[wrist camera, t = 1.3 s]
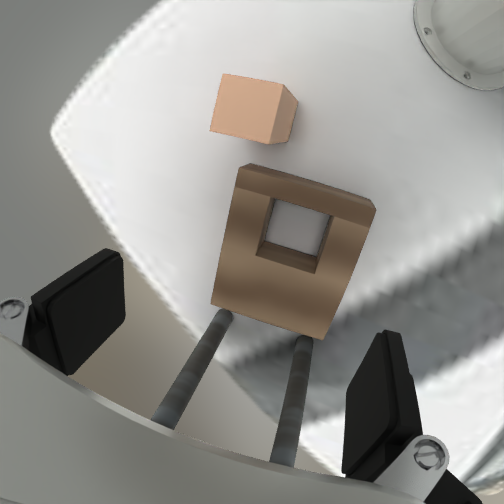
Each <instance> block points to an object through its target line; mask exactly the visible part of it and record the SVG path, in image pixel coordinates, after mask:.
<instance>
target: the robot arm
mask: <svg viewBox="0 0 504 504" xmlns="http://www.w3.org/2000/svg"><path fill="white" fill-rule="evenodd" d="M414 21H415V25H416V28H417V32H418V34H419V36H420V39H421V41H422V43H423V45H424V46H425V48H426V49H427V51H428V53H429V54H430V55H431V57H432V58H433V59H434V60H435V62H436V63H437V64H438V65H439V66H440V67H441V68H442V69H443V70H444V71H445V72H446V73H448V74H449V75H450V76H452V77H453V78H454V79H456V80H457V81H459V82H461V83H463V84H464V85H467V86H469V87H472V88H474V89H480V90H495V89H500V88H502V87H504V0H416V2H415V7H414ZM425 32H426V33H427V34H428V35H427V34H425ZM464 75H465V77H466V78H465V77H464ZM31 300H32V304H31V305H30V306H29V304H28V303H27V301H26V300H25V299H23V298H20V297H9V298H6V299H4V300H2V301H0V504H482V501H481V500H480V499H479V498H478V497H477V496H476V495H475V494H474V493H473V492H471V491H470V490H469V489H468V488H467V487H466V486H465V485H464V484H463V483H461V482H460V481H459V480H458V479H457V478H456V477H455V476H454V475H453V474H452V473H450V472H449V471H448V470H447V466H448V464H449V453H448V450H447V448H446V446H445V444H444V443H443V442H442V441H441V440H439V439H438V438H436V437H434V436H430V435H423V431H422V425H421V418H420V412H419V407H418V401H417V396H416V390H415V385H414V380H413V377H412V375H411V374H410V373H409V368H408V363H407V359H406V354H405V350H404V346H403V342H402V337H401V334H400V333H397V332H393V331H389V330H384V331H383V332H382V333H377V334H376V336H375V338H374V340H373V342H372V344H371V346H370V348H369V350H368V351H367V353H366V355H365V357H364V359H363V361H362V363H361V365H360V366H359V368H358V370H357V372H356V374H355V375H354V377H353V379H352V381H351V382H350V384H349V386H348V389H347V392H346V411H345V431H344V446H343V458H342V473H343V474H346V477H345V478H344V477H339V476H333V475H327V474H321V473H316V472H311V471H306V470H301V469H296V468H293V467H288V466H284V465H280V464H276V463H271V462H268V461H264V460H260V459H256V458H253V457H249V456H245V455H242V454H239V453H236V452H232V451H229V450H226V449H223V448H220V447H217V446H214V445H211V444H208V443H206V442H203V441H200V440H197V439H195V438H192V437H189V436H187V435H184V434H182V433H179V432H176V431H174V430H172V429H169V428H167V427H165V426H162V425H160V424H158V423H155V422H153V421H151V420H149V419H146V418H144V417H142V416H140V415H138V414H135V413H134V412H132V411H129V410H127V409H125V408H123V407H121V406H120V405H118V404H115V403H114V402H112V401H110V400H108V399H106V398H104V397H102V396H101V395H98V394H97V393H95V392H93V391H92V390H90V389H88V388H86V387H85V386H83V385H81V384H79V383H78V382H76V381H74V380H73V379H71V378H69V377H68V375H72V374H74V373H75V372H76V371H77V370H78V368H79V367H80V366H81V365H82V364H83V363H84V362H85V361H86V360H87V359H88V358H89V357H90V356H91V355H92V354H93V353H94V352H95V351H96V350H97V349H98V348H99V347H100V346H101V345H102V344H103V343H104V341H106V340H107V338H108V337H109V336H110V335H111V334H112V333H113V332H114V331H115V330H116V329H117V328H118V327H119V326H120V325H121V324H122V323H123V322H124V320H125V315H126V314H125V297H124V271H123V259H122V257H121V256H120V253H119V252H116V251H113V250H110V249H107V248H105V249H103V250H101V251H100V252H98V253H97V254H95V255H93V256H91V257H90V258H88V259H87V260H85V261H84V262H82V263H80V264H79V265H77V266H76V267H74V268H73V269H71V270H70V271H68V272H66V273H65V274H64V275H62V276H60V277H59V278H57V279H56V280H54V281H53V282H51V283H50V284H48V285H47V286H46V287H44V288H43V289H41V290H40V291H38V292H37V293H35V294H34V295H33V296H31Z"/></svg>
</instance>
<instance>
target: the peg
mask: <svg viewBox="0 0 504 504" xmlns="http://www.w3.org/2000/svg"><path fill="white" fill-rule="evenodd" d="M297 104H298V101H297V100H296V98H295V97H294V96H293V95H292V94H291V93H290V91H289V90H288V89H287V88H286V87H285V86H284V85H283V84H279V83H274V82H269V81H264V80H259V79H253V78H248V77H242V76H236V75H229V74H223V75H222V79H221V83H220V87H219V91H218V95H217V100H216V104H215V108H214V113H213V117H212V122H211V126H210V131H212V132H216V133H221V134H226V135H230V136H235V137H239V138H244V139H248V140H252V141H256V142H260V143H264V144H268V145H269V144H275V143H281V142H288V139H289V136H290V132H291V128H292V124H293V120H294V116H295V112H296V108H297Z"/></svg>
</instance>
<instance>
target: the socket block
mask: <svg viewBox="0 0 504 504" xmlns="http://www.w3.org/2000/svg"><path fill="white" fill-rule="evenodd" d="M275 198H276V199H279V200H283V201H286V202H290V203H293V204H296V205H299V206H303V207H306V208H309V209H312V210H316V211H319V212H322V213H325V214H328V215H331V216H330V219H329V222H328V225H327V228H326V231H325V234H324V237H323V240H322V243H321V246H320V249H319V252H318V255H317V257H314V256H310V255H307V254H304V253H301V252H298V251H295V250H291V249H288V248H285V247H282V246H279V245H275V244H272V243H269V242H266V241H264V239H265V236H266V232H267V228H268V224H269V220H270V217H271V213H272V209H273V205H274V201H275ZM375 212H376V208H375V207H374V205H373V203H372V202H371V200H369V199H367V198H364V197H361V196H358V195H355V194H352V193H349V192H346V191H343V190H340V189H337V188H334V187H330V186H327V185H324V184H321V183H318V182H314V181H311V180H308V179H304V178H301V177H298V176H294V175H291V174H287V173H284V172H280V171H277V170H273V169H269V168H266V167H262V166H258V165H254V164H251V163H250V164H247V165H245V166H242V167H240V168H239V170H238V174H237V179H236V183H235V188H234V192H233V197H232V201H231V206H230V210H229V215H228V220H227V225H226V229H225V234H224V239H223V244H222V248H221V253H220V258H219V263H218V268H217V273H216V278H215V283H214V288H213V293H212V299H211V304H212V305H215V306H218V307H221V308H223V309H222V310H219V311H218V312H217V314H216V315H215V317H214V319H213V320H212V322H211V323H210V325H209V327H208V328H207V330H206V331H205V333H204V335H203V336H202V338H201V340H200V341H199V343H198V344H197V346H196V348H195V349H194V351H193V352H192V354H191V356H190V357H189V359H188V360H187V362H186V364H185V365H184V367H183V368H182V370H181V372H180V373H179V375H178V377H177V378H176V380H175V381H174V383H173V385H172V386H171V388H170V390H169V391H168V393H167V394H166V396H165V398H164V399H163V401H162V402H161V404H160V405H159V407H158V409H157V411H156V412H155V414H154V415H153V417H152V418H151V421H153V422H155V423H158V424H160V425H162V426H165V427H167V428H169V429H172V430H174V428H175V426H176V425H177V423H178V421H179V419H180V417H181V415H182V413H183V412H184V410H185V408H186V406H187V404H188V402H189V400H190V399H191V397H192V395H193V393H194V391H195V389H196V387H197V386H198V383H199V382H200V380H201V378H202V376H203V374H204V373H205V370H206V369H207V367H208V365H209V363H210V361H211V359H212V358H213V356H214V354H215V352H216V350H217V348H218V346H219V344H220V342H221V341H222V339H223V337H224V335H225V333H226V331H227V329H228V327H229V325H230V323H231V322H232V319H233V316H232V314H231V313H230V312H229V311H232V312H235V313H238V314H241V315H244V316H247V317H250V318H253V319H256V320H259V321H262V322H265V323H268V324H271V325H274V326H278V327H281V328H284V329H287V330H290V331H294V332H297V333H300V334H303V335H307V336H301V337H299V338H298V339H297V341H296V346H295V351H294V356H293V361H292V366H291V371H290V376H289V380H288V385H287V389H286V394H285V398H284V403H283V407H282V412H281V416H280V420H279V424H278V429H277V433H276V437H275V441H274V445H273V449H272V453H271V457H270V461H269V462H271V463H276V464H280V465H284V466H288V467H293V468H294V463H295V457H296V452H297V447H298V441H299V436H300V430H301V424H302V418H303V412H304V406H305V399H306V393H307V386H308V379H309V372H310V364H311V356H312V348H313V340H312V339H311V338H310V337H313V338H317V339H320V340H323V339H324V337H325V335H326V333H327V331H328V328H329V326H330V324H331V322H332V320H333V317H334V315H335V313H336V311H337V308H338V306H339V304H340V302H341V299H342V297H343V295H344V292H345V290H346V288H347V285H348V283H349V280H350V278H351V276H352V273H353V271H354V268H355V266H356V263H357V261H358V258H359V256H360V253H361V250H362V248H363V245H364V243H365V240H366V237H367V235H368V232H369V229H370V226H371V224H372V221H373V218H374V215H375ZM224 309H226V310H224ZM227 310H229V311H227ZM308 336H310V337H308Z"/></svg>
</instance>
